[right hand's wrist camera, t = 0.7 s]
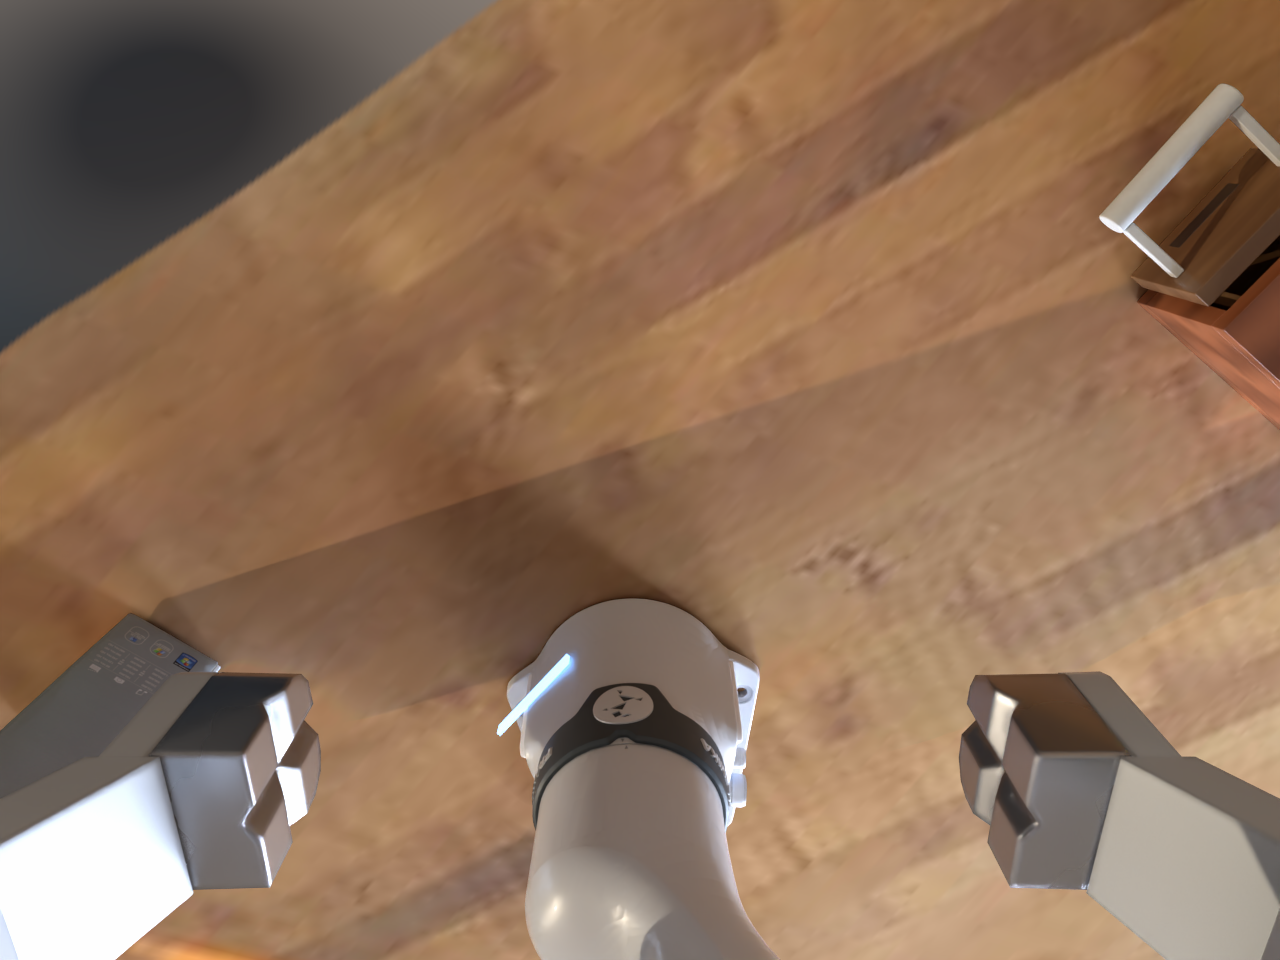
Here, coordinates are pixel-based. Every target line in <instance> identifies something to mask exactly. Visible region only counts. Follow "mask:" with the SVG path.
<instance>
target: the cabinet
mask: <svg viewBox="0 0 1280 960" xmlns="http://www.w3.org/2000/svg"><path fill="white" fill-rule="evenodd" d="M1137 302H1138V304H1140V305H1141V306H1142V307H1143V308H1144V309H1145V310H1146V311H1147V312H1149V313H1150V314H1151V315H1152V316H1153V317H1154V318H1155V319H1156V320H1157V321H1159V322H1160V323H1161V324H1162V325H1163V326H1164V327H1165V328H1166V329H1167V330H1169V331H1170V332H1171V333H1172V334H1173V335H1174V336H1175V337H1176V338H1178V339H1179V340H1180V341H1181V342H1182V343H1183V344H1184V345H1185V346H1186V347H1188V348H1189V349H1190V350H1191V351H1192V352H1193V353H1194V354H1195V355H1197V356H1198V357H1199V358H1200V359H1201V360H1202V361H1203V362H1204V363H1205V364H1207V365H1208V366H1209V367H1210V368H1211V369H1212V370H1213V371H1214V372H1215V373H1217V374H1218V375H1219V376H1220V377H1221V378H1222V379H1223V380H1224V381H1226V382H1227V383H1228V384H1229V385H1230V386H1231V387H1232V388H1233V389H1234V390H1236V391H1237V392H1238V393H1239V394H1240V395H1241V396H1242V397H1243V398H1245V399H1246V400H1247V401H1248V402H1249V403H1250V404H1251V405H1252V406H1253V407H1255V408H1256V409H1257V410H1258V411H1259V412H1260V413H1261V414H1262V415H1264V416H1265V417H1266V418H1267V419H1268V420H1269V421H1270V422H1271V423H1272V424H1274V425H1275V426H1276V427H1277V428H1278V429H1279V430H1280V258H1279V259H1278V260H1277V261H1276V262H1275V263H1274V264H1273V265H1272V266H1271V267H1270V268H1269V269H1268V270H1267V271H1266V272H1265V273H1264V274H1263V275H1262V276H1261V277H1260V278H1259V279H1258V280H1257V281H1256V282H1255V283H1254V284H1253V285H1252V286H1251V287H1250V288H1249V289H1248V290H1247V291H1246V292H1245V293H1244V294H1243V295H1242V296H1241V297H1240V298H1239V299H1238V300H1237V301H1236V302H1235V303H1234V304H1233V305H1232V306H1231V307H1230V308H1229V309H1228V310H1227V311H1226V310H1223V309H1219V308H1216V307H1212V306H1209V307H1208V306H1205V305H1201V304H1198V303H1194V302H1191V301H1188V300H1184V299H1181V298H1177V297H1174V296H1170V295H1167V294H1163V293H1160V292H1157V291H1153V290H1150V289H1149V290H1148V291H1147V292H1146V293H1145V294H1144V295H1143V296H1142V297H1141V298H1140V299H1139V300H1138V301H1137Z"/></svg>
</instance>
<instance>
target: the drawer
mask: <svg viewBox="0 0 1280 960" xmlns="http://www.w3.org/2000/svg"><path fill="white" fill-rule="evenodd" d="M1243 100H1244V97H1243V95H1242V94H1241V93H1240V92H1239V91H1238V90H1237V89H1236V88H1234V87H1232V86H1230V85H1228V84H1219V85H1218V86H1217V87H1216V88H1215V89H1214V90H1213V91H1212V92H1211V93H1210V94H1209V96H1208V97H1207V98H1206V99H1205V100H1204V101H1203V102H1202V103H1201V104H1200V105H1199V107H1198V108H1197V109H1196V110H1195V111H1194V112H1193V113H1192V114H1191V115H1190V116H1189V118H1188V119H1187V120H1186V121H1185V122H1184V123H1183V124H1182V125H1181V126H1180V128H1179V129H1178V130H1177V131H1176V132H1175V133H1174V134H1173V135H1172V136H1171V137H1170V139H1169V140H1168V141H1167V142H1166V143H1165V144H1164V145H1163V146H1162V147H1161V148H1160V150H1159V151H1158V152H1157V153H1156V154H1155V155H1154V156H1153V157H1152V158H1151V159H1150V161H1149V162H1148V163H1147V164H1146V165H1145V166H1144V167H1143V168H1142V169H1141V171H1140V172H1139V173H1138V174H1137V175H1136V176H1135V177H1134V178H1133V179H1132V180H1131V182H1130V183H1129V184H1128V185H1127V186H1126V187H1125V188H1124V189H1123V190H1122V191H1121V193H1120V194H1119V195H1118V196H1117V197H1116V198H1115V199H1114V200H1113V201H1112V203H1111V204H1110V205H1109V206H1108V207H1107V208H1106V209H1105V210H1104V211H1103V212H1102V214H1101V215H1100V216H1099V218H1100V220H1101V221H1102V222H1103V223H1104V224H1105V225H1106V226H1107V227H1109V228H1110V229H1112V230H1114V231H1116V232H1119V233H1122V232H1123V233H1124V234H1125V235H1126V236H1127V237H1128V238H1129V239H1131V240H1132V241H1133V242H1134V243H1135V244H1136V245H1137V246H1138V247H1139V248H1140V249H1141V250H1143V251H1144V252H1145V253H1146V254H1147V255H1148V256H1149V257H1148V258H1147V259H1146V260H1145V261H1144V262H1143V263H1142V264H1141V265H1140V266H1139V267H1138V269H1137V270H1136V271H1135V272H1134V273H1133V274H1132V275H1131V277H1132V278H1133V279H1134V280H1135V281H1136V282H1137V283H1138V284H1139V285H1140V286H1142V287H1143V288H1146V289H1150V290H1153V291H1157V292H1160V293H1163V294H1167V295H1170V296H1174V297H1177V298H1181V299H1184V300H1188V301H1191V302H1194V303H1198V304H1201V305H1205V306H1208V307H1209V306H1212V307H1216V308H1219V309H1223V310H1226V311H1227V310H1228V309H1229V308H1230V307H1231V306H1232V305H1233V304H1234V303H1235V302H1236V301H1237V300H1238V299H1239V298H1240V297H1241V296H1242V295H1243V294H1244V293H1245V292H1246V291H1247V290H1248V289H1249V288H1250V287H1251V286H1252V285H1253V284H1254V283H1255V282H1256V281H1257V280H1258V279H1259V278H1260V277H1261V276H1262V275H1263V274H1264V273H1265V272H1266V271H1267V270H1268V269H1269V268H1270V267H1271V266H1272V265H1273V264H1274V263H1275V262H1276V261H1277V260H1278V259H1279V258H1280V144H1279V143H1278V142H1277V141H1276V140H1275V139H1274V138H1273V137H1272V136H1271V135H1270V134H1269V133H1268V132H1267V131H1266V130H1265V129H1264V128H1263V127H1262V126H1261V125H1260V124H1259V123H1258V122H1257V121H1256V120H1255V119H1254V118H1253V117H1252V116H1251V115H1250V114H1249V113H1248V112H1247V111H1246V110H1245V109H1244V108H1243V107H1242V106H1240V105H1241V103H1242V102H1243ZM1228 118H1229V119H1230V120H1231V121H1232V122H1233V123H1234V124H1235V125H1236V126H1237V127H1238V128H1239V129H1240V130H1241V131H1242V132H1243V133H1244V134H1245V135H1246V136H1247V137H1248V138H1249V139H1250V140H1251V141H1252V142H1253V143H1254V144H1255V145H1256V146H1257V147H1258V148H1259V149H1250V150H1249V151H1248V152H1247V153H1246V154H1245V155H1244V156H1243V157H1242V158H1241V159H1240V160H1239V161H1238V162H1237V163H1236V165H1235V166H1234V167H1233V168H1232V169H1231V170H1230V171H1229V172H1228V173H1227V174H1226V175H1225V176H1224V177H1223V178H1222V179H1221V180H1220V182H1219V183H1218V184H1217V185H1216V186H1215V187H1214V188H1213V189H1212V190H1211V191H1210V192H1209V193H1208V194H1207V195H1206V196H1205V197H1204V199H1203V200H1202V201H1201V202H1200V203H1199V204H1198V205H1197V206H1196V207H1195V208H1194V209H1193V210H1192V211H1191V212H1190V213H1189V214H1188V215H1187V217H1186V218H1185V219H1184V220H1183V221H1182V222H1181V223H1180V224H1179V225H1178V226H1177V227H1176V228H1175V229H1174V230H1173V231H1172V232H1171V234H1170V235H1169V236H1168V237H1167V238H1166V239H1165V240H1164V241H1163V242H1162V243H1161V244H1160V245H1159V246H1158V245H1157V244H1156V243H1155V242H1154V241H1153V240H1152V239H1151V238H1150V237H1149V236H1148V235H1146V234H1145V233H1144V232H1143V231H1142V230H1141V229H1140V228H1139V227H1138V226H1137V225H1136V224H1135V223H1133V221H1134V219H1135V218H1136V217H1137V216H1138V215H1139V214H1140V213H1141V212H1142V211H1143V210H1144V209H1145V208H1146V206H1147V205H1148V204H1149V203H1150V202H1151V201H1152V200H1153V199H1154V198H1155V197H1156V196H1157V195H1158V193H1159V192H1160V191H1161V190H1162V189H1163V188H1164V187H1165V186H1166V185H1167V184H1168V183H1169V182H1170V180H1171V179H1172V178H1173V177H1174V176H1175V175H1176V174H1177V173H1178V172H1179V171H1180V170H1181V168H1182V167H1183V166H1184V165H1185V164H1186V163H1187V162H1188V161H1189V160H1190V159H1191V158H1192V157H1193V155H1194V154H1195V153H1196V152H1197V151H1198V150H1199V149H1200V148H1201V147H1202V146H1203V145H1204V144H1205V142H1206V141H1207V140H1208V139H1209V138H1210V137H1211V136H1212V135H1213V134H1214V133H1215V132H1216V131H1217V129H1218V128H1219V127H1220V126H1221V125H1222V124H1223V123H1224V122H1225V121H1226V120H1227V119H1228Z"/></svg>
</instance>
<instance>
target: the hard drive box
mask: <svg viewBox="0 0 1280 960" xmlns="http://www.w3.org/2000/svg"><path fill="white" fill-rule="evenodd" d="M219 669H220V666H219V665H218V662H217V661H215V660H213V659H211V658H210V657H208V656H206V655H205V654H203V653H201V652H199V651H197V650H196V649H194V648H192V647H190V646H189V645H187V644H185V643H183V642H182V641H180V640H178V639H176V638H175V637H173V636H171V635H169V634H168V633H166V632H164V631H162V630H161V629H159V628H157V627H155V626H154V625H152V624H150V623H149V622H147V621H145V620H143V619H141V618H140V617H138V616H136V615H134V614H132V613H131V614H128V615H127V616H126V617H125V618H124V619H122V620H121V621H120V622H119V623H118V624H117V625H116V626H115V627H113V628H112V629H111V630H110V631H109V632H108V633H107V634H106V635H105V636H103V637H102V638H101V639H100V640H99V641H98V642H97V643H96V644H95V645H93V646H92V647H91V648H90V649H89V650H88V651H87V652H86V653H85V654H84V655H83V656H81V657H80V658H79V659H78V660H77V661H76V662H75V663H74V664H73V665H72V666H71V667H69V668H68V669H67V670H66V671H65V672H64V673H63V674H62V675H61V676H60V677H59V678H57V679H56V680H55V681H54V682H53V683H52V684H51V685H50V686H49V687H48V688H47V689H45V690H44V691H43V692H42V693H41V694H40V695H39V696H38V697H37V698H36V699H35V700H34V701H32V702H31V703H30V704H29V705H28V706H27V707H26V708H25V709H24V710H23V711H21V712H20V713H19V714H18V715H17V716H16V717H15V718H14V719H13V720H12V721H11V722H9V723H8V724H7V725H6V726H5V727H4V728H3V729H2V730H1V731H0V799H1V798H3V797H5V796H7V795H9V794H11V793H13V792H15V791H17V790H19V789H21V788H23V787H25V786H27V785H29V784H31V783H33V782H35V781H37V780H39V779H41V778H43V777H45V776H47V775H49V774H51V773H53V772H55V771H57V770H59V769H61V768H63V767H65V766H67V765H69V764H71V763H73V762H75V761H77V760H79V759H81V758H83V757H99V755H100V754H101V753H102V752H103V751H104V750H105V749H106V748H107V746H108V745H109V744H110V743H111V742H112V741H113V740H114V739H115V737H116V736H117V735H118V734H119V733H120V732H121V731H122V730H123V728H124V727H125V726H126V725H127V724H128V723H129V722H130V721H131V719H132V718H133V717H134V716H135V715H136V714H137V713H138V712H139V710H140V709H141V708H142V707H143V706H144V705H145V704H146V703H147V701H148V700H149V699H150V698H151V697H152V696H153V695H154V694H155V692H156V691H157V690H158V689H159V688H160V687H161V686H162V685H163V683H164V682H165V681H166V680H167V679H168V678H169V677H170V676H171V675H174V674H177V673H181V672H218V671H219Z"/></svg>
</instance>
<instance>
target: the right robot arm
mask: <svg viewBox="0 0 1280 960" xmlns="http://www.w3.org/2000/svg"><path fill="white" fill-rule="evenodd" d="M758 687H759V669H758V667H757V666H756V664H755V663H754V662H752V661H751V660H749V659H748V658H746V657H744V656H742V655H740V654H738V653H736V652H734V651H731V650H729V649H727V648H726V647H725V646H724V645H722V644H721V643H720V642H719V641H718V639H717V638H716V637H715V636H714V635H713V634H712V633H711V631H710V630H709V629H708V628H707V627H706V626H705V625H704V624H703V623H701V622H700V621H699V620H698V619H696V618H695V617H694V616H692V615H690V614H689V613H687V612H685V611H683V610H681V609H679V608H677V607H675V606H672V605H669V604H666V603H663V602H659V601H654V600H648V599H638V598H628V599H617V600H611V601H606V602H602V603H599V604H596V605H593V606H591V607H588V608H586V609H584V610H582V611H580V612H578V613H576V614H575V615H573V616H572V617H570V618H569V619H568V620H566V621H565V622H564V623H563V624H562V625H561V626H560V627H559V628H558V629H557V630H556V631H555V632H554V633H553V634H552V636H551V637H550V638H549V640H548V641H547V643H546V645H545V646H544V648H543V650H542V651H541V653H540V655H539V656H538V658H537V659H536V660H535V661H534V662H533V663H532V664H530V665H529V666H527V667H526V668H524V669H523V670H521V671H520V672H519V673H517V674H516V675H515V676H514V677H513V678H512V679H511V680H510V681H509V683H508V687H507V698H508V702H509V704H510V706H511V709H512V712H511V713H510V714H509V715H508V716H507V717H506V718H505V719H504V720H503V722H502V723H501V724H500V725H499V727H498V732H497V734H498V735H500V736H501V735H502V734H503V733H504V732H505V730H506V729H507V728H508V727H509V726H510V725H511V724H512V723H513V722H514V721H515V720H516V721H517V724H518V726H519V728H520V731H521V740H520V754H521V756H522V757H524V758H526V760H527V763H528V766H529V769H530V771H531V773H532V775H533V777H534V779H535V780H534V785H533V793H532V799H533V801H532V805H533V823H534V827H535V830H536V833H535V840H534V846H533V853H532V859H531V866H530V872H529V879H528V886H527V892H526V900H525V914H526V922H527V928H528V931H529V935H530V938H531V941H532V943H533V945H534V948H535V950H536V952H537V954H538V955H539V957H540V958H541V960H780V959H779V958H778V957H777V955H776V954H775V953H774V952H773V951H772V950H771V949H770V948H769V946H768V945H767V944H766V943H765V941H764V940H763V939H762V937H761V936H760V935H759V933H758V932H757V931H756V929H755V928H754V926H753V924H752V923H751V921H750V920H749V918H748V916H747V914H746V912H745V910H744V908H743V906H742V903H741V901H740V898H739V894H738V891H737V887H736V883H735V878H734V874H733V870H732V865H731V861H730V856H729V851H728V845H727V839H726V830H727V826H728V825H730V823H731V822H732V819H733V815H734V811H735V807H742V806H745V803H746V794H747V784H746V777H745V775H743V774H742V769H744V768H745V765H746V749H747V743H748V738H749V733H750V728H751V723H752V718H753V712H754V707H755V702H756V697H757V692H758ZM738 688H745V690H744V691H741V692H739V691H737V689H738ZM312 705H313V701H312V696H311V691H310V686H309V682H308V680H307V679H306V678H305V677H304V676H303V675H302V674H279V673H231V672H222V673H217V672H181V673H177V674H174V675H171V676H170V677H169V678H168V679H167V680H166V681H165V682H164V683H163V685H162V686H161V687H160V688H159V689H158V690H157V691H156V692H155V694H154V695H153V696H152V697H151V698H150V699H149V700H148V701H147V703H146V704H145V705H144V706H143V707H142V708H141V709H140V710H139V712H138V713H137V714H136V715H135V716H134V717H133V718H132V719H131V721H130V722H129V723H128V724H127V725H126V726H125V727H124V728H123V730H122V731H121V732H120V733H119V734H118V735H117V736H116V737H115V739H114V740H113V741H112V742H111V743H110V744H109V745H108V746H107V748H106V749H105V750H104V751H103V752H102V753H101V754H100V755H99V757H83V758H81V759H79V760H77V761H75V762H73V763H71V764H69V765H67V766H65V767H63V768H61V769H59V770H57V771H55V772H53V773H51V774H49V775H47V776H45V777H43V778H41V779H39V780H37V781H35V782H33V783H31V784H29V785H27V786H25V787H23V788H21V789H19V790H17V791H15V792H13V793H11V794H9V795H7V796H5V797H3V798H1V799H0V960H114V959H116V958H117V957H118V956H119V955H120V954H122V953H123V952H124V951H125V950H126V949H128V948H129V947H130V946H131V945H132V944H134V943H135V942H136V941H137V940H138V939H140V938H141V937H142V936H143V935H144V934H146V933H147V932H148V931H149V930H150V929H152V928H153V927H154V926H155V925H156V924H158V923H159V922H160V921H161V920H162V919H164V918H165V917H166V916H167V915H168V914H170V913H171V912H172V911H173V910H174V909H176V908H177V907H178V906H179V905H180V904H182V903H183V902H184V901H185V900H186V899H188V898H189V897H190V896H191V895H192V894H193V890H199V889H234V888H268V887H270V886H271V884H272V882H273V880H274V878H275V876H276V874H277V872H278V870H279V868H280V866H281V864H282V862H283V860H284V858H285V856H286V854H287V852H288V850H289V848H290V846H291V844H292V836H291V831H290V825H291V824H293V823H294V822H295V821H297V820H298V819H300V818H301V817H302V816H304V815H305V814H307V812H308V810H309V808H310V805H311V803H312V801H313V799H314V797H315V794H316V790H317V785H318V781H319V776H320V771H321V750H320V743H319V737H318V734H317V733H316V732H315V731H314V730H313V729H312V728H311V727H310V726H309V725H308V724H307V723H306V722H305V721H304V719H305V717H306V716H307V714H308V712H309V710H310V708H311V707H312ZM967 705H968V707H969V708H970V710H971V712H972V714H973V715H974V717H975V719H976V721H975V722H974V723H973V724H972V725H971V726H970V727H969V728H968V729H967V730H966V731H965V732H964V733H963V734H962V737H961V745H960V753H959V765H960V777H961V783H962V786H963V790H964V793H965V797H966V799H967V801H968V803H969V806H970V808H971V810H972V812H973V814H975V815H976V816H978V817H979V818H980V819H982V820H983V821H985V822H986V823H988V824H989V825H990V831H989V836H988V844H989V846H990V848H991V850H992V852H993V854H994V856H995V858H996V860H997V862H998V864H999V866H1000V868H1001V870H1002V872H1003V874H1004V876H1005V878H1006V880H1007V882H1008V884H1009V886H1010V888H1045V889H1081V890H1087V894H1088V895H1089V896H1090V897H1092V898H1093V899H1094V900H1095V901H1096V902H1098V903H1099V904H1100V905H1101V906H1102V907H1104V908H1105V909H1106V910H1107V911H1108V912H1110V913H1111V914H1112V915H1113V916H1114V917H1116V918H1117V919H1118V920H1119V921H1120V922H1122V923H1123V924H1124V925H1125V926H1126V927H1128V928H1129V929H1130V930H1131V931H1132V932H1134V933H1135V934H1136V935H1137V936H1138V937H1140V938H1141V939H1142V940H1143V941H1144V942H1146V943H1147V944H1148V945H1149V946H1150V947H1151V948H1153V949H1154V950H1155V951H1156V952H1157V953H1159V954H1160V955H1161V956H1162V957H1163V958H1165V959H1166V960H1280V799H1279V798H1277V797H1275V796H1273V795H1271V794H1269V793H1267V792H1265V791H1263V790H1261V789H1259V788H1257V787H1255V786H1253V785H1251V784H1249V783H1247V782H1245V781H1243V780H1241V779H1239V778H1237V777H1235V776H1233V775H1231V774H1229V773H1227V772H1225V771H1223V770H1221V769H1219V768H1217V767H1215V766H1213V765H1211V764H1209V763H1207V762H1205V761H1203V760H1201V759H1199V758H1197V757H1181V755H1180V754H1179V753H1178V752H1177V751H1176V750H1175V749H1174V748H1173V746H1172V745H1171V744H1170V743H1169V742H1168V741H1167V740H1166V739H1165V737H1164V736H1163V735H1162V734H1161V733H1160V732H1159V731H1158V730H1157V728H1156V727H1155V726H1154V725H1153V724H1152V723H1151V722H1150V721H1149V719H1148V718H1147V717H1146V716H1145V715H1144V714H1143V713H1142V712H1141V710H1140V709H1139V708H1138V707H1137V706H1136V705H1135V704H1134V703H1133V701H1132V700H1131V699H1130V698H1129V697H1128V696H1127V695H1126V694H1125V692H1124V691H1123V690H1122V689H1121V688H1120V687H1119V686H1118V685H1117V683H1116V682H1115V681H1114V680H1113V679H1112V678H1111V677H1110V676H1108V675H1106V674H1104V673H1102V672H1072V673H1058V674H1012V675H975V677H974V679H973V681H972V683H971V685H970V690H969V695H968V701H967Z"/></svg>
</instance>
